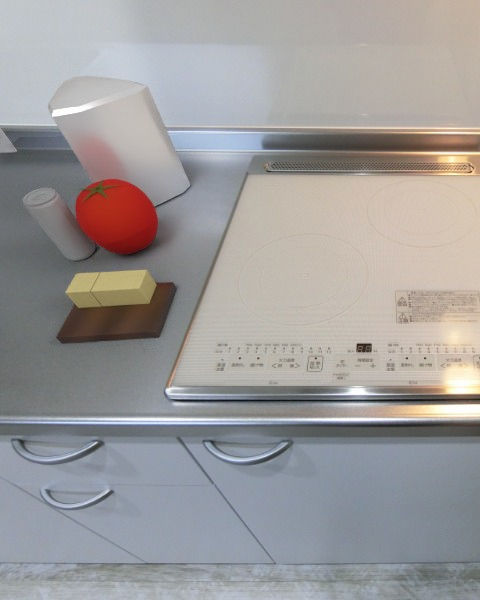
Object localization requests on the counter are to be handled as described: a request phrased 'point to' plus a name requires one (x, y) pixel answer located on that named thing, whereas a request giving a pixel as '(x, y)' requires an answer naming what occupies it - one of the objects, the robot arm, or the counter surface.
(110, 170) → the white plastic container
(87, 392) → the counter surface
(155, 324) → the board
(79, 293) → the butter slice
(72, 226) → the beverage can
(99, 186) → the tomato
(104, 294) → the butter block
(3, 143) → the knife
